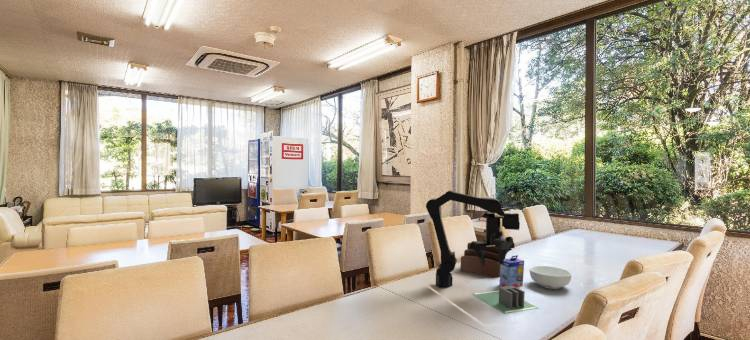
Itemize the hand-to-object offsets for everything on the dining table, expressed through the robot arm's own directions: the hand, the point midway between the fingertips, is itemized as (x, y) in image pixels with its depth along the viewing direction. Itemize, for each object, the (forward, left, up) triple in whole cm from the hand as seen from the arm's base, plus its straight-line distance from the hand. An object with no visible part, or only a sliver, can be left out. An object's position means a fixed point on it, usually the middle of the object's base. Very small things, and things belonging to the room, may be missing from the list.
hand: (492, 265), depth 148 cm
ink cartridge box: (+14, +4, -12) cm, 19 cm away
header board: (-2, -10, -12) cm, 16 cm away
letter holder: (+15, +26, -12) cm, 32 cm away
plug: (-2, -14, -11) cm, 18 cm away
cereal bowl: (+32, 0, -12) cm, 34 cm away
